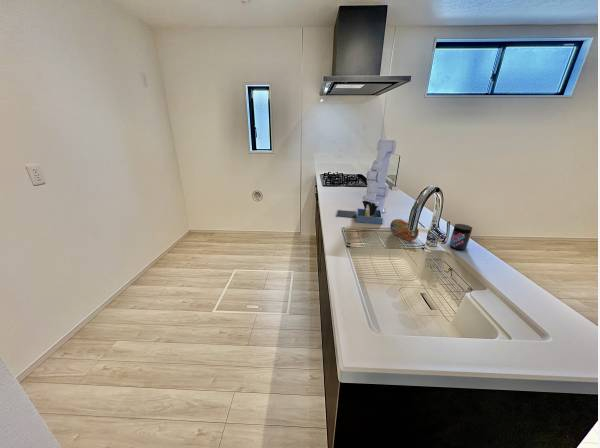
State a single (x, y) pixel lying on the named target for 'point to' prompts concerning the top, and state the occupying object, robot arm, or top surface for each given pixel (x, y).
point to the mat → (346, 213)
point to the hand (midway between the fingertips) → (369, 214)
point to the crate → (369, 219)
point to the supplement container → (460, 237)
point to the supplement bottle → (367, 211)
